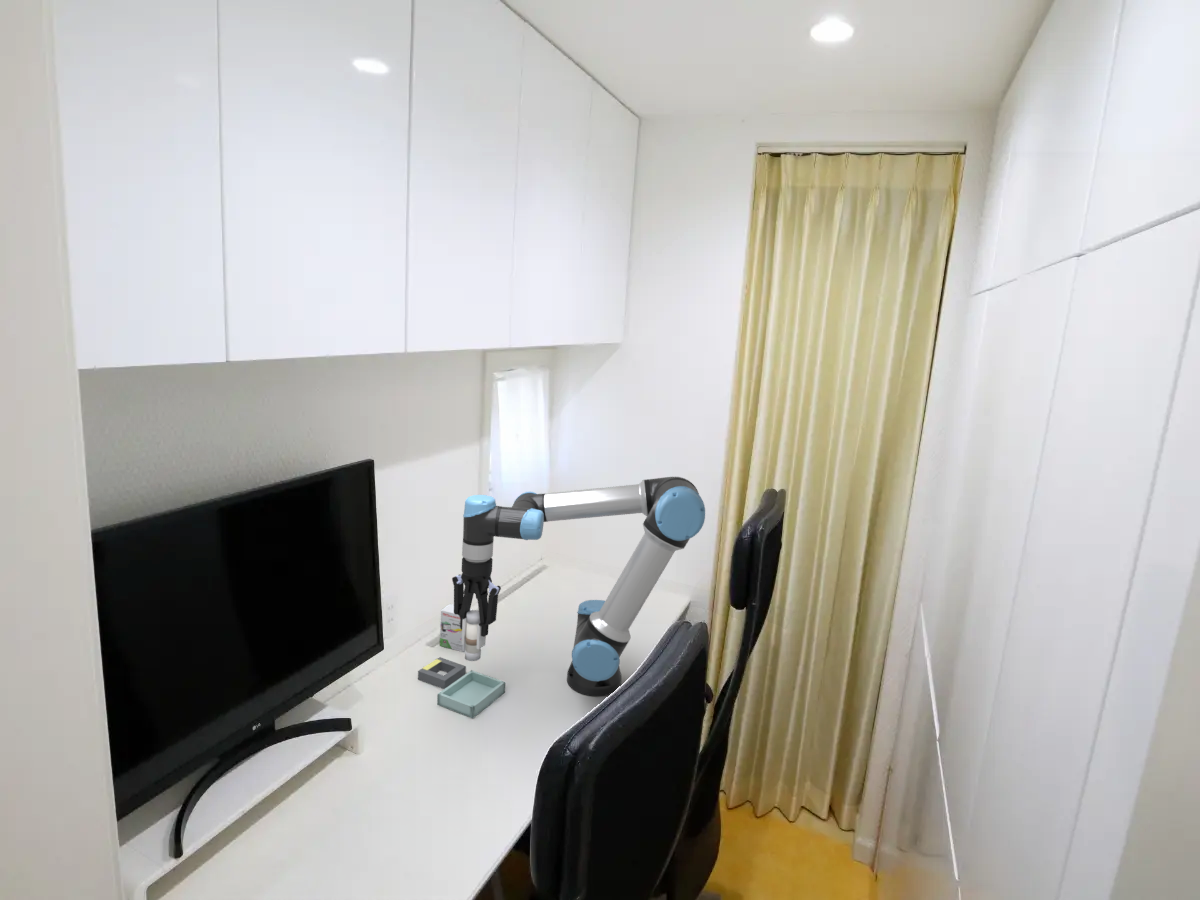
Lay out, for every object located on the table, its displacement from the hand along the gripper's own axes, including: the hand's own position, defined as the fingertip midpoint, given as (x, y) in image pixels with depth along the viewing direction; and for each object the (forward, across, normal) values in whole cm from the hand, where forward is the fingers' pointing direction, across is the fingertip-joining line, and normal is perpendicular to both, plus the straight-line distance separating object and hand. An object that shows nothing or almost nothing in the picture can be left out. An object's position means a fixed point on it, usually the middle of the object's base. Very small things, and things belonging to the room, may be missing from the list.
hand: (473, 644), depth 169 cm
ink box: (+16, +21, -20) cm, 33 cm away
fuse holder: (+15, +13, -4) cm, 20 cm away
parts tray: (+15, 0, 0) cm, 15 cm away
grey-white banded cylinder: (+4, 0, 0) cm, 4 cm away
